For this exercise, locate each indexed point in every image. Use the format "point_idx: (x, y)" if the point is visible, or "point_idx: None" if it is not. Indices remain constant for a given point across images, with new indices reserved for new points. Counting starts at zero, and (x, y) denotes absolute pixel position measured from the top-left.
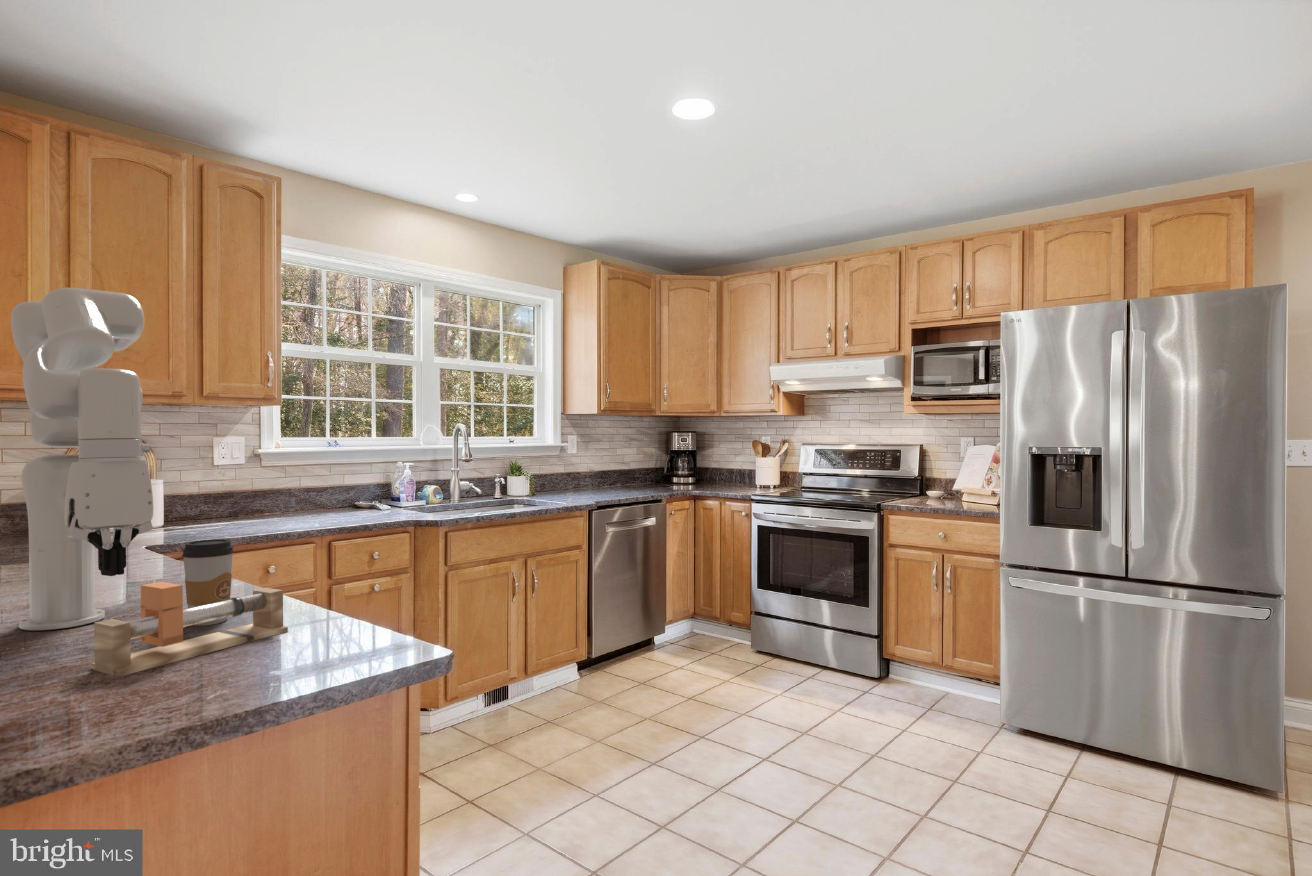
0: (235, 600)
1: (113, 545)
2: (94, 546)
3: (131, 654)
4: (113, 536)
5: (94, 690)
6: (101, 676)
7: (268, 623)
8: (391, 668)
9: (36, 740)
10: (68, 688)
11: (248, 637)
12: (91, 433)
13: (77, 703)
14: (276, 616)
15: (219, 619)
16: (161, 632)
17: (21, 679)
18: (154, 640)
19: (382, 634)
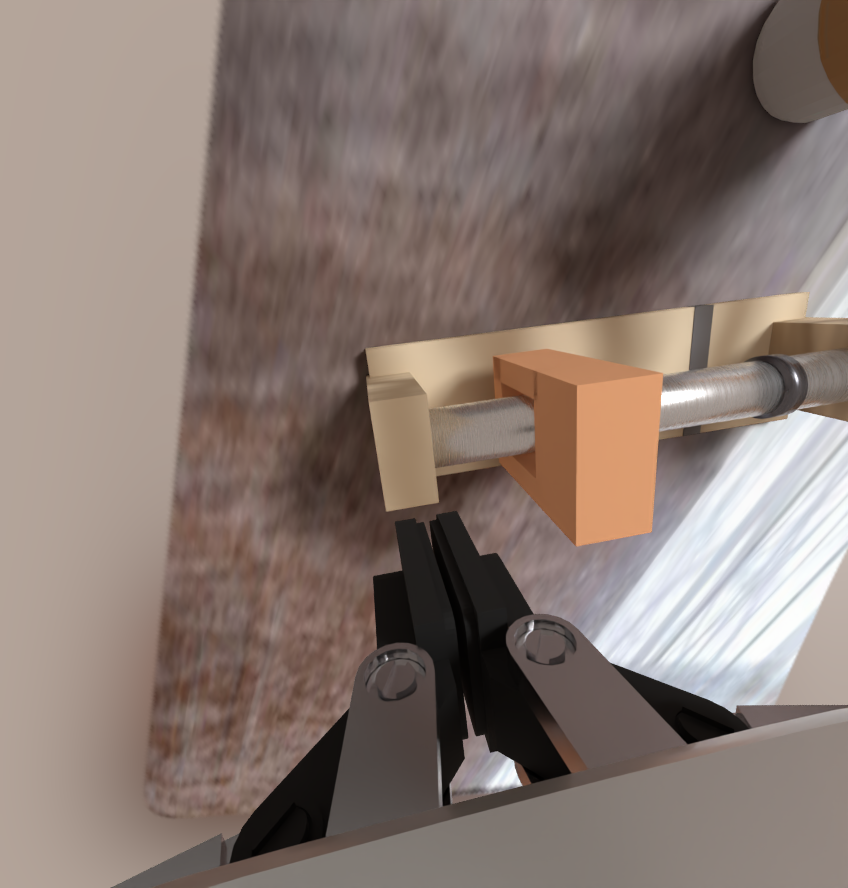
0: (780, 407)
1: (489, 692)
2: (358, 680)
3: (461, 349)
4: (544, 715)
5: (318, 536)
6: (360, 441)
7: None
8: None
9: (184, 725)
10: (284, 479)
11: (686, 434)
12: None
13: (273, 594)
14: None
15: (805, 122)
16: (511, 469)
17: (215, 294)
18: None
19: (811, 597)
